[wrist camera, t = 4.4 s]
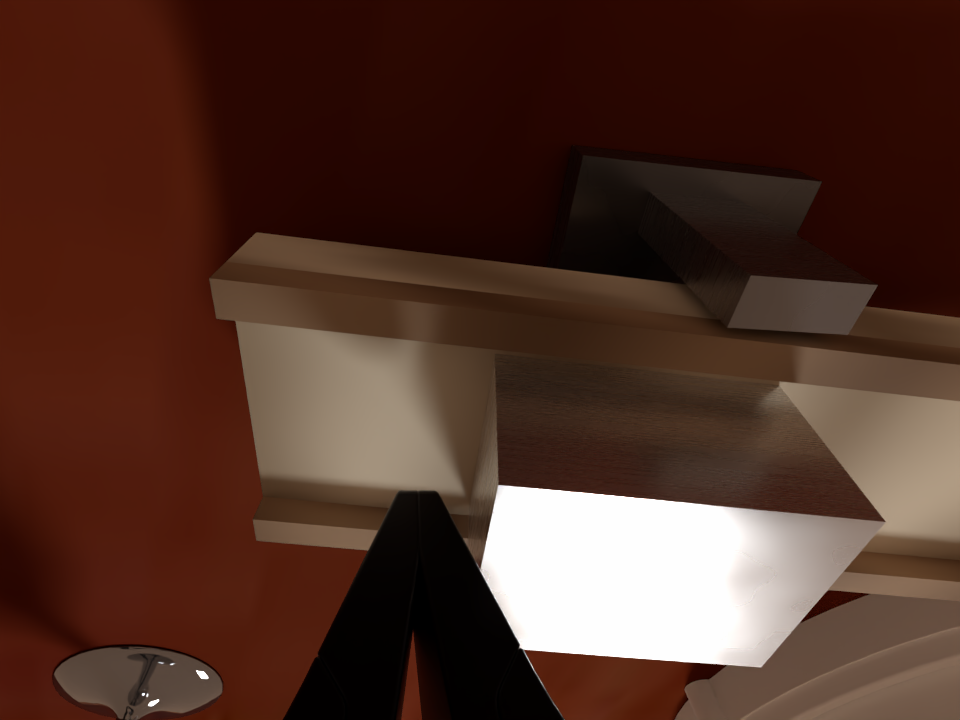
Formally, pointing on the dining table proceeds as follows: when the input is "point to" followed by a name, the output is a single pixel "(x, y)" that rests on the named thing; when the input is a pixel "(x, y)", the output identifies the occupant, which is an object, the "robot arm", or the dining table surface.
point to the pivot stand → (706, 237)
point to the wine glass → (137, 683)
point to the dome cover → (848, 668)
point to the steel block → (656, 512)
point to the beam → (571, 338)
